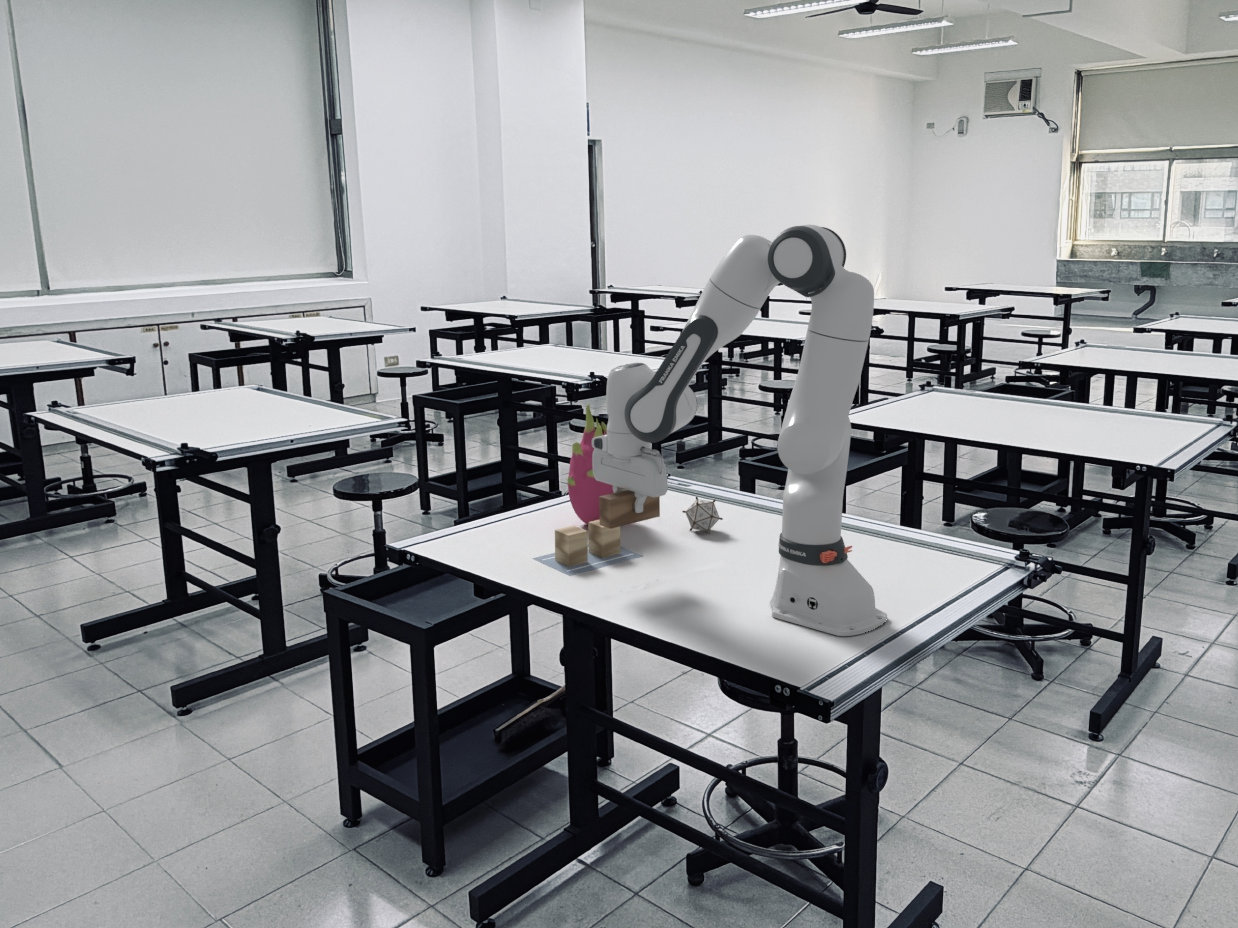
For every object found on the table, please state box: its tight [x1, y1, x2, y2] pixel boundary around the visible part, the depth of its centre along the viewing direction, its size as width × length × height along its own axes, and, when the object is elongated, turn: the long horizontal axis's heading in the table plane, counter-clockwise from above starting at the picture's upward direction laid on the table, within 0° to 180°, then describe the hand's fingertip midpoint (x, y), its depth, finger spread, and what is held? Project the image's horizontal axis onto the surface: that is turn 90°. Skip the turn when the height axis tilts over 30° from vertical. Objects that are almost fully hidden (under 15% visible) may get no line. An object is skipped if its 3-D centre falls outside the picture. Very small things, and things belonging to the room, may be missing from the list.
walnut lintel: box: [599, 490, 661, 529], centre depth 209 cm, size 4×13×6 cm, turn 129°
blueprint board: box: [531, 543, 644, 577], centre depth 224 cm, size 14×20×1 cm
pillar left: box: [554, 525, 589, 567], centre depth 220 cm, size 5×5×7 cm
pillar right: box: [587, 520, 621, 558], centre depth 225 cm, size 5×5×7 cm
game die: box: [681, 495, 723, 535], centre depth 243 cm, size 9×8×10 cm
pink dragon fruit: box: [567, 403, 627, 526], centre depth 244 cm, size 18×14×30 cm
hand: (630, 509), depth 209 cm, fingers closed on walnut lintel, 3 cm apart
